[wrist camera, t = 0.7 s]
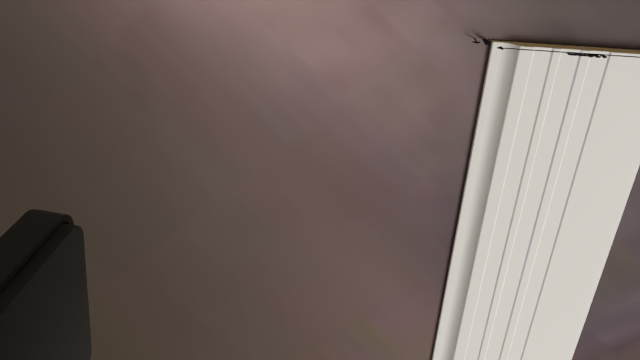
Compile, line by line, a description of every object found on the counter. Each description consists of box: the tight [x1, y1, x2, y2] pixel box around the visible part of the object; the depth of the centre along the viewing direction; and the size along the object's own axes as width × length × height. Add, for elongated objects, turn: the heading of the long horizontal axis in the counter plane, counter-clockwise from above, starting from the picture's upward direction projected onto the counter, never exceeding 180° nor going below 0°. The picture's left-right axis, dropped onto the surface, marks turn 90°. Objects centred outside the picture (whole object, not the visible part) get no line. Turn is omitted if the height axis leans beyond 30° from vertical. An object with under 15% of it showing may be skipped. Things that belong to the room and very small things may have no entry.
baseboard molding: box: [432, 39, 640, 360], centre depth 42 cm, size 31×3×12 cm
